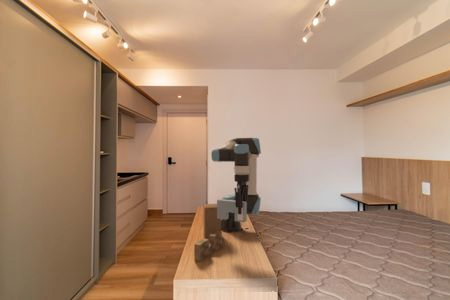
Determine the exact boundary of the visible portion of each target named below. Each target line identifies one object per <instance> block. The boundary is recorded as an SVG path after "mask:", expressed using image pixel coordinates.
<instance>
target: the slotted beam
mask: <svg viewBox="0 0 450 300" xmlns="http://www.w3.org/2000/svg"><path fill="white" fill-rule="evenodd" d="M222 236H223V232H222V230H221V231H216V232H214V233H213V234H211V235H209V239H205V238H204V237H203V238H202V239H201V240H198V241H197V242H196V243H194V249H193V250H194V261H195V262H201V261H202V260H204V259H205V258H207V257H208V256H209V255H211V254H212V253H214V252H215V251H216V250H218V249H219V248H220V247H222V245H223V237H222Z"/></svg>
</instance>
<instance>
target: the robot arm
mask: <svg viewBox="0 0 450 300" xmlns="http://www.w3.org/2000/svg"><path fill="white" fill-rule="evenodd" d="M211 150H212V151H211V154H210V155H211V160H212V161H213V162H215V163H216V162H218V163H221V162H225V163H226V162H227V163H228V162H229V163H230V162H232V163H233V162H234V167H233V170H234V177H233V178H234V182H236V187H234V193H232V194H227V195H224V196H222V198H221V199H225V200H235V203H236V207H238V220H242V221H243V207H242V204H243V201H245V202H247V215H250V216H252V215H253V216H254V215H255V216H256V215H259V213H260V208H261V197H260V196H259V193H258V192H257V178H258V177H257V175H258V173H257V172H258V171H257V170H258V169H257V168H258V165H257V164H258V163H257V162H258V161H257V160H258V158H259V156H260V154H261V153H262V152H261V143H260V139H259V138H258V137H236V138H233V139H230V140H228V141H227V142H225V144H224V145H223V146H221V148H213V149H211ZM241 230H242V222H238V221H235V213H231V212H229V218H228V219H227V220H224V219H221V232H222V231H223V232H226V233H227V232H228V233H232V232H233V233H235V232H238V231H241Z"/></svg>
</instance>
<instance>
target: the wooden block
mask: <svg viewBox="0 0 450 300" xmlns="http://www.w3.org/2000/svg"><path fill="white" fill-rule="evenodd" d="M221 220H222V219H218V218H217V203H205V204H203V239H204V238H205V239H209V235H211V234H213V233H214V232H216V231H221V232H222V230H221Z"/></svg>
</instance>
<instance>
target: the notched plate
mask: <svg viewBox="0 0 450 300" xmlns="http://www.w3.org/2000/svg"><path fill="white" fill-rule="evenodd" d="M216 204H217V218H218V219H221V220H222V219H224V220H227V219H228V218H229V212H231V213H235V221H238V222H240V223H246V222H247V221H248V220H247V219H248V217H247V216H248V214H247V202H245V201H243V204H242V207H243V221H242V220H238V207H236V203H235V200H225V199H222V198H219V199H217V200H216Z"/></svg>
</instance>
